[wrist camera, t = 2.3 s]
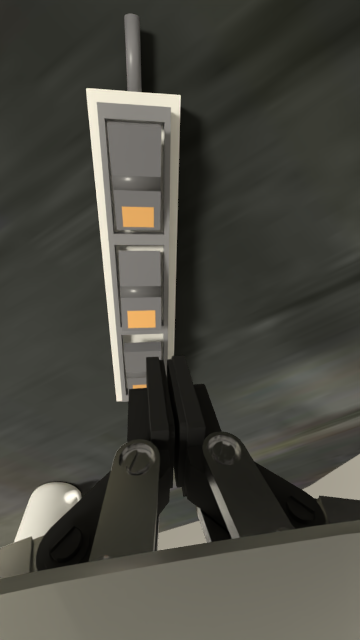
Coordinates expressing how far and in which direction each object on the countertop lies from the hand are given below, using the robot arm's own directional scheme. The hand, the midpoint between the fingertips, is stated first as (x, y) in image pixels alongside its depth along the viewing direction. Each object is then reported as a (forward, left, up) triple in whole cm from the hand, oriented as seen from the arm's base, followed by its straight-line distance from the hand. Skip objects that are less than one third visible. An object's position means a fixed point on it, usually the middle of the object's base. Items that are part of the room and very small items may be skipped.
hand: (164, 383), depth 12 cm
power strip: (+1, 0, -22) cm, 22 cm away
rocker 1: (+1, -8, -17) cm, 19 cm away
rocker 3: (+1, +12, -17) cm, 21 cm away
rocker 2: (+1, +2, -17) cm, 17 cm away
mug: (+16, +42, -22) cm, 50 cm away
